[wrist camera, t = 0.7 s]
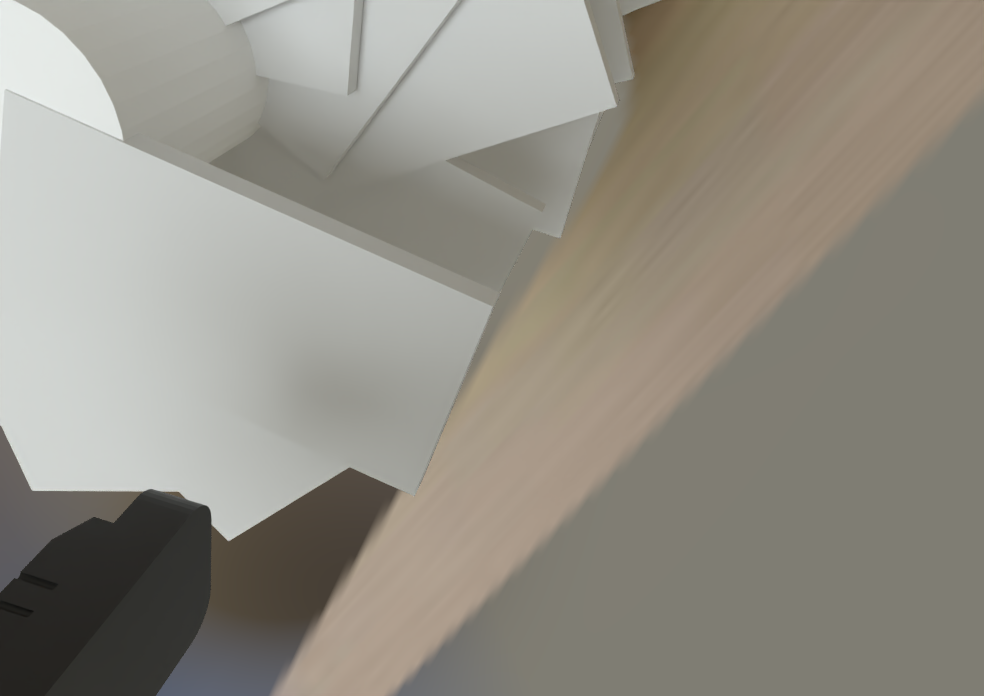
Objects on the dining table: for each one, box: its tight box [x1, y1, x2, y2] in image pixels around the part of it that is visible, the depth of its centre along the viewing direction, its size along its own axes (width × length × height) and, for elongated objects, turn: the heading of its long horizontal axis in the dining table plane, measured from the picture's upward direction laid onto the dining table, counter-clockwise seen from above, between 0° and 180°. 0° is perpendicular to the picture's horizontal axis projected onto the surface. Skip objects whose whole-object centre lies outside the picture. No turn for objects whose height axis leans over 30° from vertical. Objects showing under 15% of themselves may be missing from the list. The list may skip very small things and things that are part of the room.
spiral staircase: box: [0, 0, 661, 541], centre depth 25 cm, size 18×18×25 cm
